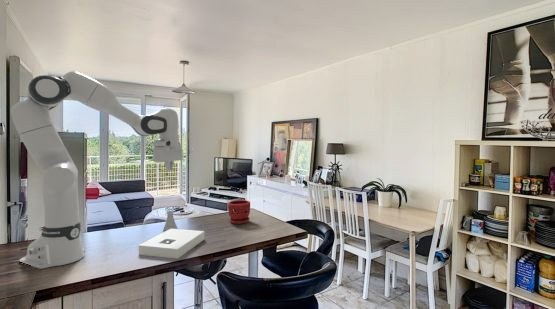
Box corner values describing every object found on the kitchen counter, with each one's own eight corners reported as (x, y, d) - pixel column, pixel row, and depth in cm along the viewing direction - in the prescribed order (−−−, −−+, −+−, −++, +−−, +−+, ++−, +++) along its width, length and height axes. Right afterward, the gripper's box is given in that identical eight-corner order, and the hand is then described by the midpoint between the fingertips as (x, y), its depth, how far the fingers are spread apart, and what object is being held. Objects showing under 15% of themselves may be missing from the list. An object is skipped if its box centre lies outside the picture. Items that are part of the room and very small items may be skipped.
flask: (172, 232, 153) (172, 213, 152) (160, 231, 154) (160, 213, 154) (180, 228, 160) (179, 210, 159) (168, 227, 161) (167, 209, 161)
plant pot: (250, 218, 181) (250, 199, 181) (249, 225, 168) (249, 204, 167) (229, 218, 180) (229, 199, 180) (226, 225, 167) (226, 204, 167)
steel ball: (163, 239, 128) (166, 244, 131) (160, 247, 125) (163, 252, 128) (172, 239, 128) (175, 244, 131) (169, 248, 125) (172, 252, 128)
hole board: (138, 254, 124) (138, 245, 123) (170, 236, 147) (170, 228, 147) (177, 258, 120) (177, 249, 120) (204, 239, 143) (204, 231, 143)
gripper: (174, 142, 154) (175, 168, 155) (150, 142, 134) (150, 172, 135) (185, 142, 153) (186, 168, 154) (162, 142, 133) (163, 173, 134)
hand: (169, 170), depth 144 cm, fingers closed
